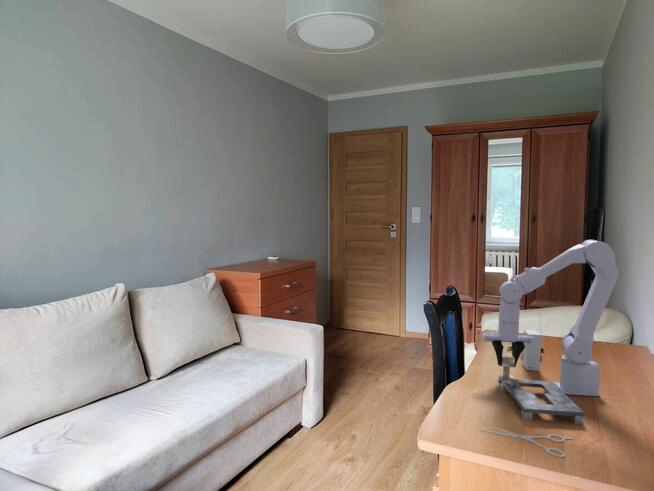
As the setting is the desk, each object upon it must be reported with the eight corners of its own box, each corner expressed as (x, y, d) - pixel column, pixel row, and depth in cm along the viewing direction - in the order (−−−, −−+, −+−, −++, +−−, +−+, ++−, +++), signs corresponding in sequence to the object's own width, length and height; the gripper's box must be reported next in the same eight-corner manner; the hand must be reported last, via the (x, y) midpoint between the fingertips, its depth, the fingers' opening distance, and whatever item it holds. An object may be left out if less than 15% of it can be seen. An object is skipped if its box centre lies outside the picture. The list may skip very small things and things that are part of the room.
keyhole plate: (551, 391, 128) (551, 381, 128) (583, 424, 108) (584, 412, 108) (501, 388, 129) (501, 378, 129) (523, 420, 110) (524, 408, 109)
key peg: (511, 377, 137) (512, 353, 136) (515, 382, 133) (516, 358, 132) (496, 376, 137) (497, 352, 137) (500, 381, 133) (501, 357, 132)
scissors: (573, 459, 92) (473, 434, 102) (573, 463, 92) (473, 437, 102) (573, 437, 101) (482, 416, 111) (573, 441, 101) (482, 418, 111)
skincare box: (539, 371, 144) (542, 335, 143) (526, 370, 145) (528, 334, 144) (535, 365, 150) (537, 330, 149) (521, 363, 151) (523, 329, 150)
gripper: (529, 319, 137) (527, 362, 138) (480, 317, 138) (479, 359, 139) (537, 325, 130) (535, 370, 131) (486, 322, 131) (484, 367, 132)
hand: (506, 365), depth 135 cm, fingers closed on key peg, 3 cm apart
